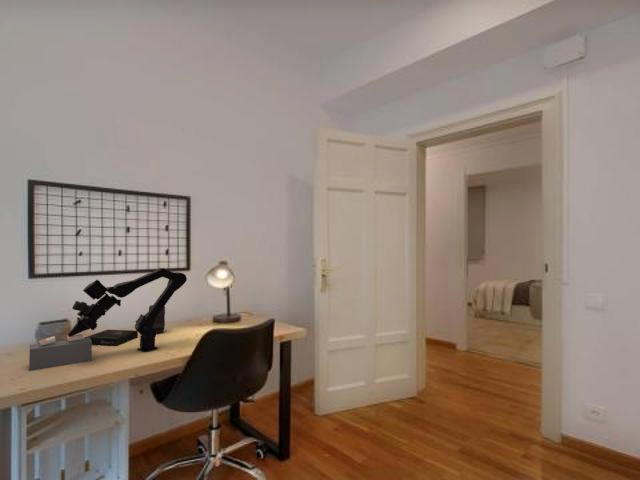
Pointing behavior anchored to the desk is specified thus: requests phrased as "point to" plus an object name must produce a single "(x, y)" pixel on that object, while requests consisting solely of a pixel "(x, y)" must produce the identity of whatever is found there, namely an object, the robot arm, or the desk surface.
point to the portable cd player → (112, 337)
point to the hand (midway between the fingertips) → (68, 335)
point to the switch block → (60, 353)
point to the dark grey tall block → (159, 321)
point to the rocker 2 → (75, 337)
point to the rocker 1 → (47, 340)
